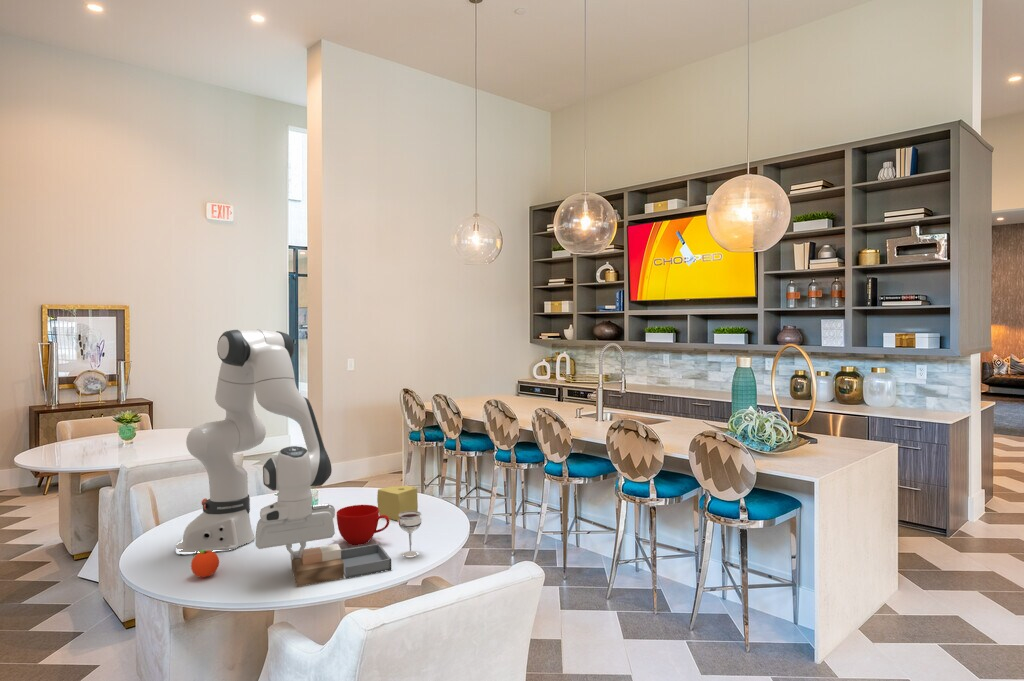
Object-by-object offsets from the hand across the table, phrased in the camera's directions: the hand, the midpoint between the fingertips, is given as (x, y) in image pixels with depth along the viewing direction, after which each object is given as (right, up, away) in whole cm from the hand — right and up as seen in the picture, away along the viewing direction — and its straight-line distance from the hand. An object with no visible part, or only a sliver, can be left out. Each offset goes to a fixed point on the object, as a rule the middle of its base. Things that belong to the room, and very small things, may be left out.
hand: (296, 558), depth 166 cm
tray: (+16, -5, +8) cm, 19 cm away
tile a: (+8, -1, +4) cm, 9 cm away
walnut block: (+5, -5, +3) cm, 7 cm away
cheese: (+18, -4, +54) cm, 57 cm away
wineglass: (+28, -5, +16) cm, 33 cm away
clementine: (-26, -6, +2) cm, 27 cm away
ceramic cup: (+12, -5, +27) cm, 30 cm away
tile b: (+3, -1, +2) cm, 4 cm away
